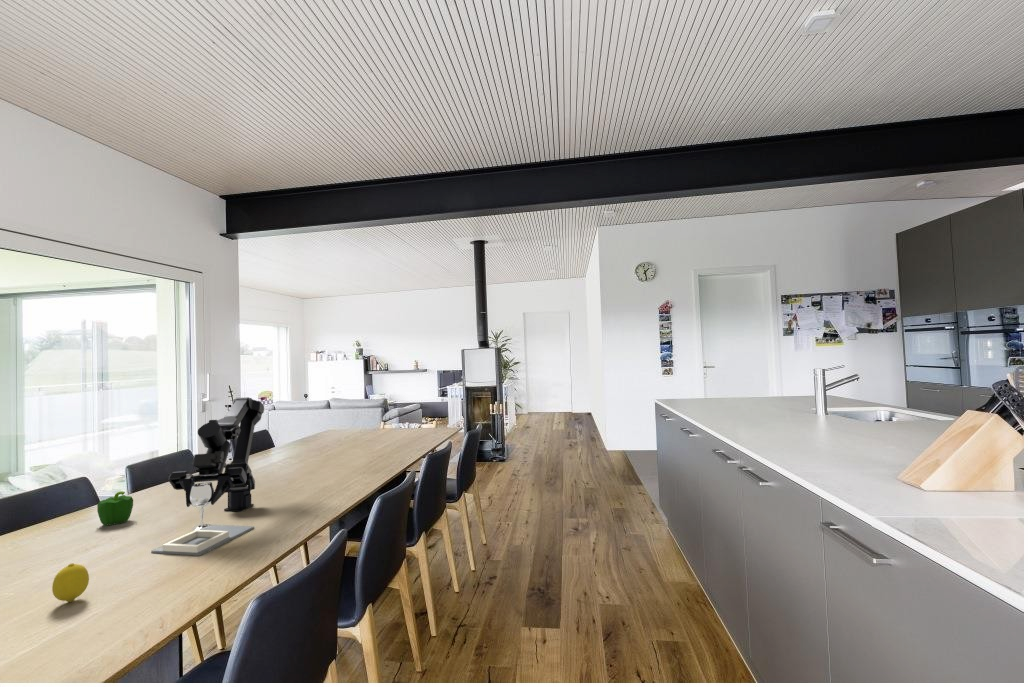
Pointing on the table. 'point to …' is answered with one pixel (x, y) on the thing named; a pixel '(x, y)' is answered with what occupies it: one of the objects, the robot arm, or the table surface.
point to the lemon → (70, 582)
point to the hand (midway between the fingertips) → (199, 505)
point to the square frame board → (202, 540)
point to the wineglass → (201, 500)
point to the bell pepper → (115, 509)
